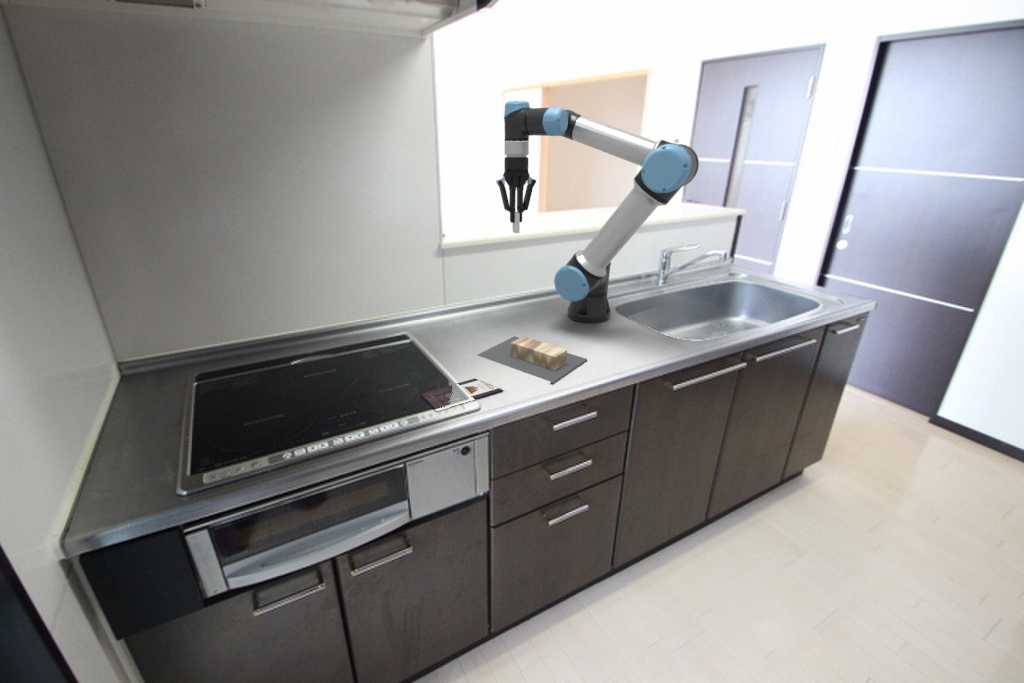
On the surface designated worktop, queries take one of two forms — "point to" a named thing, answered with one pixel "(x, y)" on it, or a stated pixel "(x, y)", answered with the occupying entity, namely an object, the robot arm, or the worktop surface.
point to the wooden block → (539, 353)
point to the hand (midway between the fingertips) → (516, 232)
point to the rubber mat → (503, 356)
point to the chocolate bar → (472, 387)
